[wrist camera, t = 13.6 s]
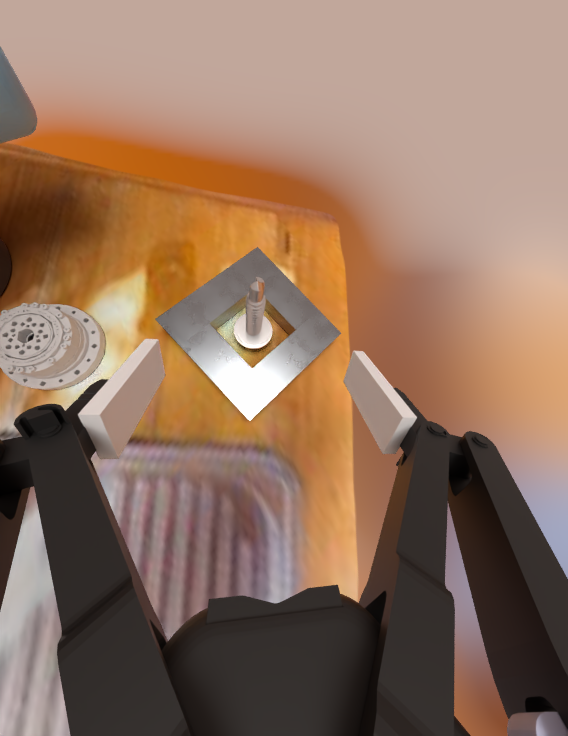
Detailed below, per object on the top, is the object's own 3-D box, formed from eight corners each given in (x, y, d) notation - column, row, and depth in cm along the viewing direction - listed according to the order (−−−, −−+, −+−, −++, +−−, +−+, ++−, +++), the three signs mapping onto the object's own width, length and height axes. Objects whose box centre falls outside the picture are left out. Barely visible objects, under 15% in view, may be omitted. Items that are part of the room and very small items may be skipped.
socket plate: (164, 328, 29) (155, 319, 26) (256, 261, 33) (257, 247, 31) (249, 420, 29) (249, 420, 26) (332, 340, 33) (341, 333, 30)
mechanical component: (100, 390, 27) (112, 311, 29) (73, 385, 23) (89, 293, 25) (0, 390, 25) (20, 307, 27) (-49, 384, 21) (-21, 286, 23)
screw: (237, 355, 30) (232, 321, 31) (273, 350, 31) (267, 317, 32) (232, 311, 18) (222, 256, 18) (292, 305, 19) (280, 252, 19)
